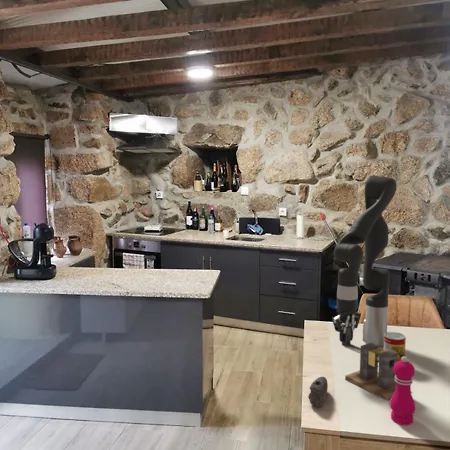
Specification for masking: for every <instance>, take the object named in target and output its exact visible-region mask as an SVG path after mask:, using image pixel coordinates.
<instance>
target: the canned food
mask: <svg viewBox="0 0 450 450" xmlns="http://www.w3.org/2000/svg"><path fill="white" fill-rule="evenodd" d="M406 339H407V337H406V335H405V334H403V333H400V332H395V331H387V333H385V334H384V346H383V350H385V351H388V350H393V351H395V352H398V361H402V360H401V358H402V357H404V356H405V357H406V341H407V340H406ZM398 361H397V362H398Z"/></svg>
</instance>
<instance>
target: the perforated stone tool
mask: <svg viewBox="0 0 450 450" xmlns="http://www.w3.org/2000/svg"><path fill="white" fill-rule="evenodd" d="M328 387H329V386H328V380H327V378H326V377H325V376H320V377H318V378H316V379H315V380H313V382H311V384H310V386H309V390H310V392H309V394H308V396H307V397H308V400H309V403H310V404H311V405H313V406H316V407H318V408H319V407H321V406H322V405H323V404H324V402H325V400H326V397H327V393H328V390H329V389H328Z"/></svg>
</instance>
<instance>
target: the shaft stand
mask: <svg viewBox="0 0 450 450" xmlns="http://www.w3.org/2000/svg"><path fill="white" fill-rule="evenodd" d="M360 348H361V350H360V353H359V354H360V355H359V357H360V359H359V370H357V371H354V372H352V373H348V374H347V375H344V376H345V379H344V380H345V381H347V382H349V383H351V384H353V385H355V386H356V387H359V388H362V389H363V390H366V391H368V392H370V393H372V394H373V395H374V396H375V395H376V396H378V397H379V398H381V399H384V400H386V401H390V400H391V397H392V396H393V394H394V392H395V389H396V381H395V375H396V374H395V373H394V370H393V368H394V365H395V363H396V362H397V361H398V352H395V351H393V350H388V351H385V352H382V353H379V363H378V362H377V366H376V367H374V366H372V365H369V364H368V351H369V350H372V349H375V348H380V346H379V345H377V344H375V343H368V344H366V343H365V344H362V345H360Z"/></svg>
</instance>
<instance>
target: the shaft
mask: <svg viewBox="0 0 450 450" xmlns="http://www.w3.org/2000/svg"><path fill="white" fill-rule="evenodd" d="M342 329H343V327H342ZM345 333H346V342H345V343H343V342H341V346H342V347H344V348H346V349H348V350H351V351H352V352H355V353H357V354H360V350H361V346H357V345H354V344H352V343H351V341H352V340H351V327H350V326H348V327H347V328H346V332H345ZM377 361H379V357H377Z"/></svg>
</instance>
